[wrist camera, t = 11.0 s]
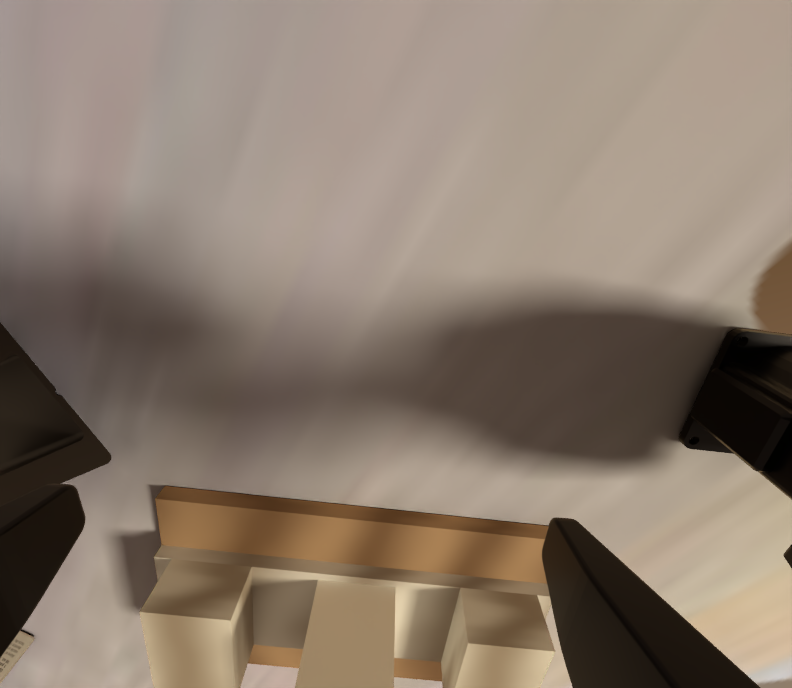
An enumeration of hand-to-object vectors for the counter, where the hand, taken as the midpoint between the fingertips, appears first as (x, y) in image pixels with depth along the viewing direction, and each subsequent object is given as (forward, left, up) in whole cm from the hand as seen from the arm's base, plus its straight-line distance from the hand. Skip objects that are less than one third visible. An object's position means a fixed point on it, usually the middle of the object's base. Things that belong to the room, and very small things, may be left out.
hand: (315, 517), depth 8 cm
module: (-1, +19, -10) cm, 21 cm away
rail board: (-1, +19, -12) cm, 22 cm away
